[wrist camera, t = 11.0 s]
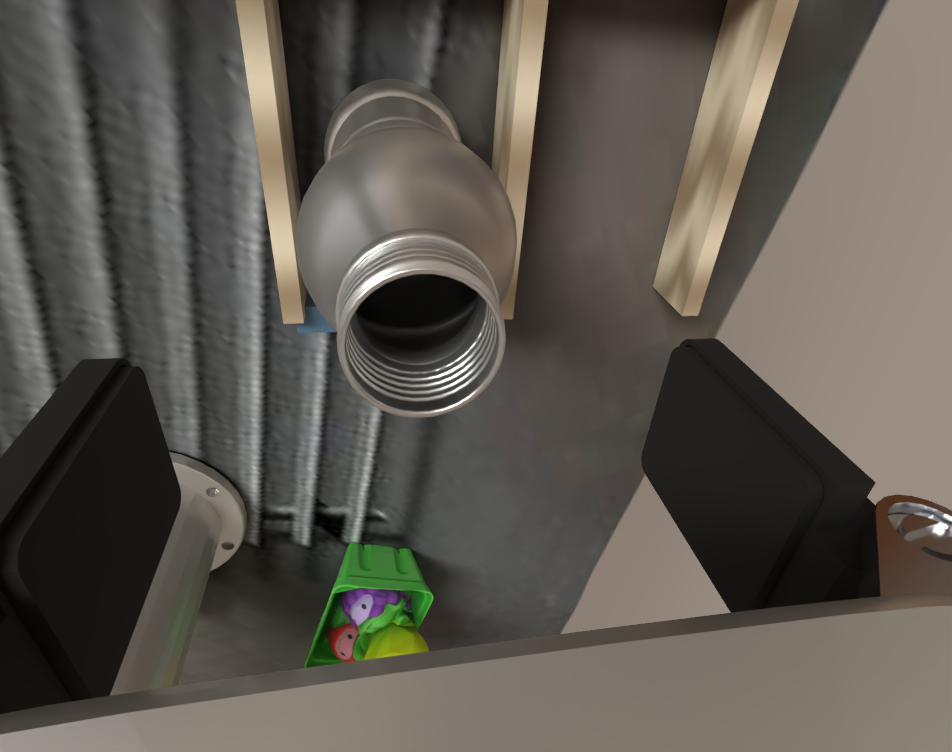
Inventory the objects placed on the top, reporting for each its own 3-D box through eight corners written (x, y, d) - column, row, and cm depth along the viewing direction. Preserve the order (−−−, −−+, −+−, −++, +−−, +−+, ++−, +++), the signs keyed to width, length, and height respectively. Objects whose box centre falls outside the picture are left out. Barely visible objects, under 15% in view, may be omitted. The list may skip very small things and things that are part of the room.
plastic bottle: (327, 206, 29) (269, 468, 13) (328, 60, 25) (250, 163, 9) (447, 219, 30) (535, 470, 14) (464, 82, 27) (611, 206, 10)
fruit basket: (337, 528, 43) (328, 673, 33) (444, 541, 46) (463, 678, 36) (307, 615, 48) (292, 760, 39) (404, 622, 51) (412, 759, 42)
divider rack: (663, 300, 36) (692, 330, 32) (294, 306, 32) (286, 340, 29) (760, -49, 26) (817, -56, 22) (240, -102, 22) (217, -120, 19)
